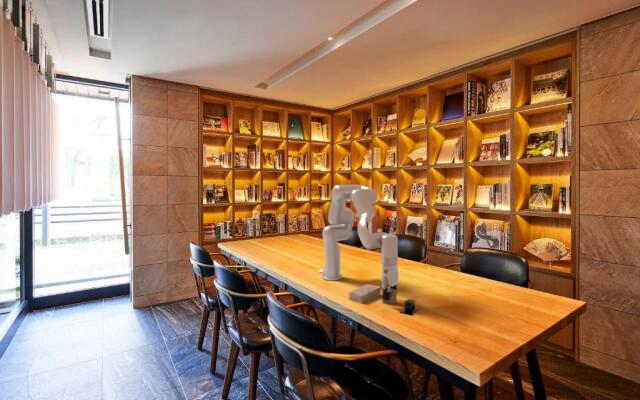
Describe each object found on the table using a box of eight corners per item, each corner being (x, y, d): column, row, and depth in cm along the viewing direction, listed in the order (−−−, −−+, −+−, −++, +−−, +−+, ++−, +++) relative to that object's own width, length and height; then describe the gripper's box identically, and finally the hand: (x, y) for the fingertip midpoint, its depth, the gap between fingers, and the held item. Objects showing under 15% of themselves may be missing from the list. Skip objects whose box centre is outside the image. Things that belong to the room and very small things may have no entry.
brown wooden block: (382, 303, 154) (382, 290, 154) (386, 299, 159) (386, 287, 158) (392, 305, 152) (392, 292, 152) (396, 301, 156) (396, 289, 156)
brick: (361, 304, 154) (361, 294, 154) (348, 300, 160) (348, 290, 159) (381, 295, 166) (381, 286, 166) (367, 292, 172) (367, 283, 171)
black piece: (407, 305, 153) (407, 295, 152) (423, 308, 148) (423, 298, 148) (396, 314, 142) (396, 303, 142) (413, 318, 137) (413, 307, 137)
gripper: (390, 265, 145) (391, 303, 146) (403, 258, 160) (403, 292, 160) (374, 263, 149) (375, 300, 150) (388, 256, 164) (388, 290, 164)
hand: (389, 296), depth 155 cm, fingers open, 9 cm apart
